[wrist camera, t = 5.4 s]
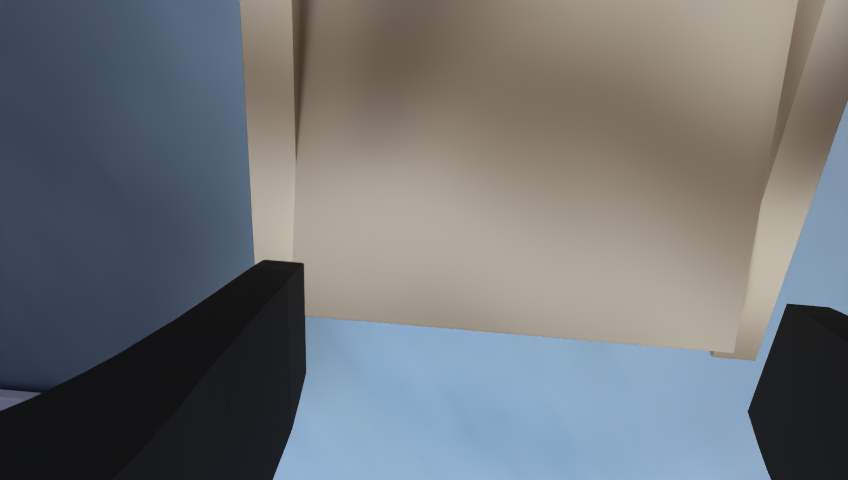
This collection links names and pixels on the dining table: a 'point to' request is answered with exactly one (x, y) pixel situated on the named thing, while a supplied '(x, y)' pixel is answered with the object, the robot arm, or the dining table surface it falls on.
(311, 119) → the tray
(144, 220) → the dining table surface
